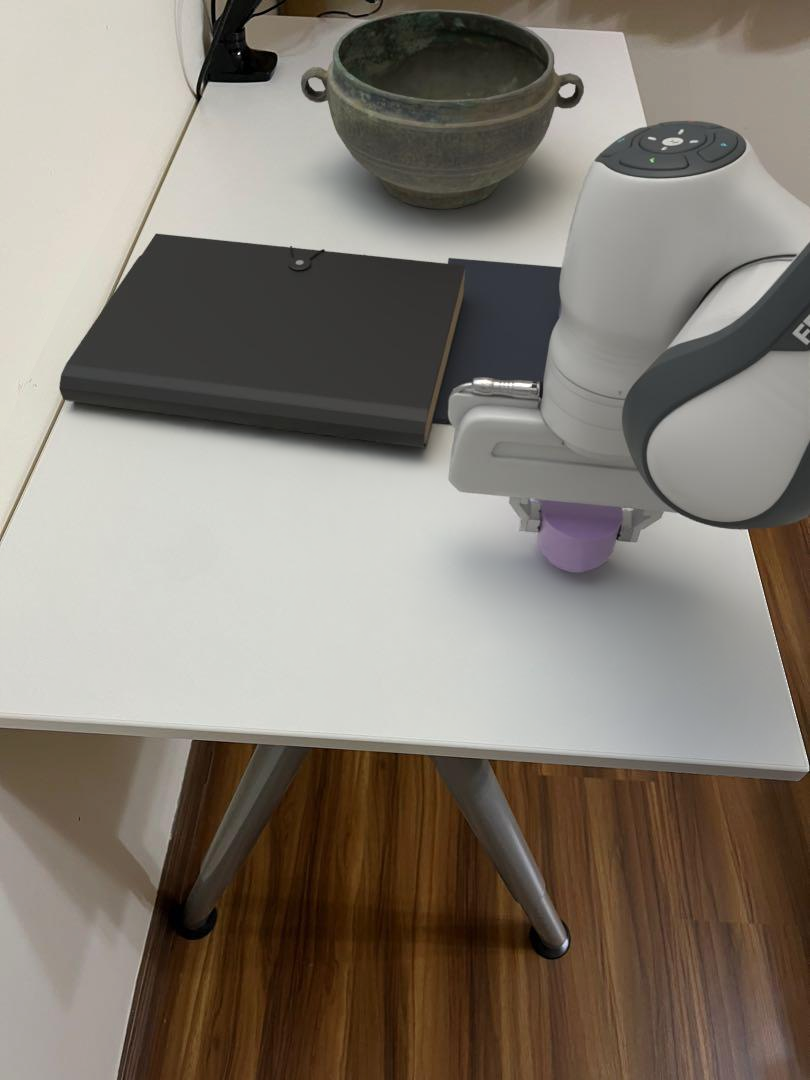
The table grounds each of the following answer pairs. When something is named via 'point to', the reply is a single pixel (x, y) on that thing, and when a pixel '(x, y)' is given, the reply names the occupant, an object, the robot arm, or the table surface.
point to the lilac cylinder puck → (577, 534)
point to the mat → (501, 325)
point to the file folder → (274, 339)
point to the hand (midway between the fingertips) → (577, 530)
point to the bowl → (441, 101)
